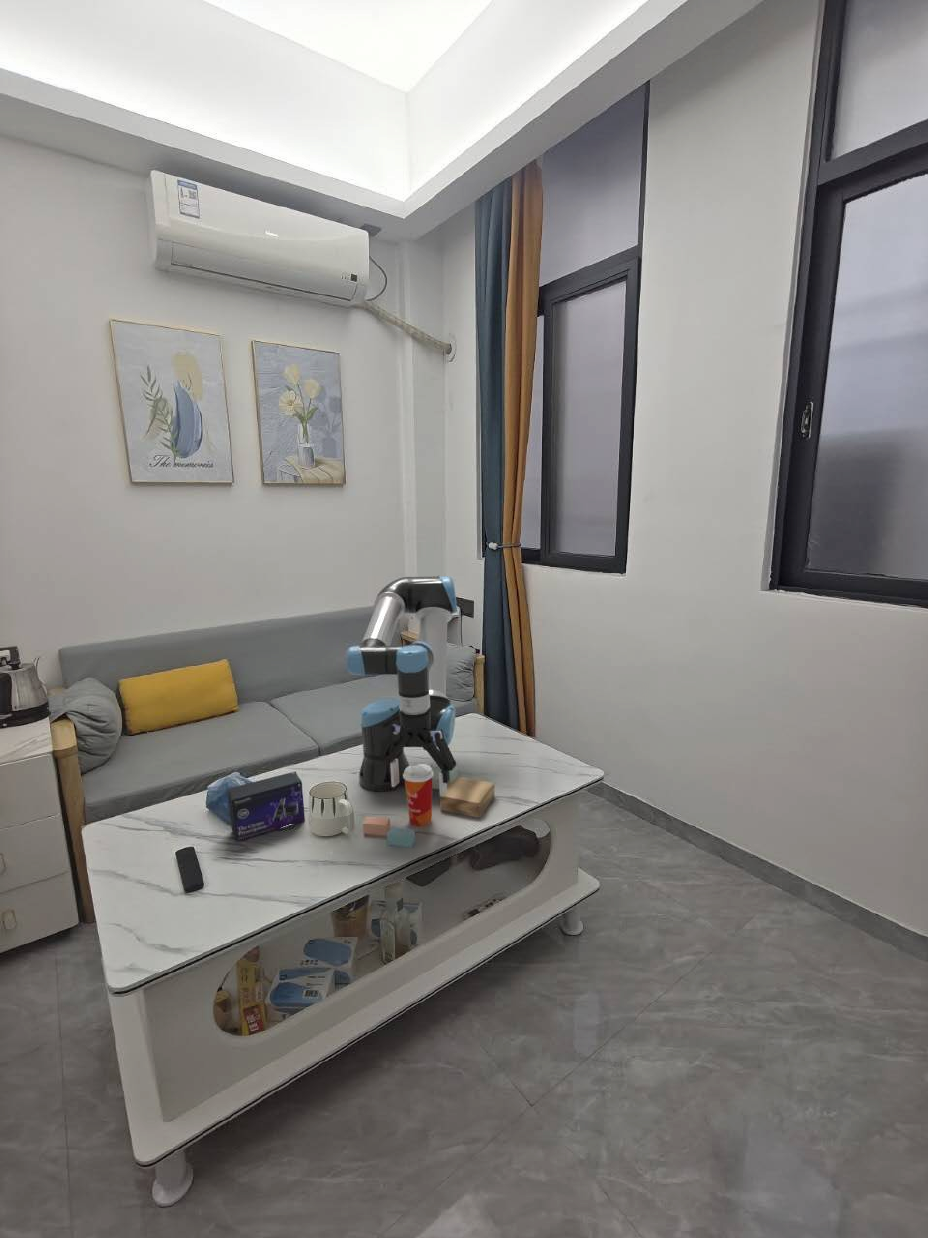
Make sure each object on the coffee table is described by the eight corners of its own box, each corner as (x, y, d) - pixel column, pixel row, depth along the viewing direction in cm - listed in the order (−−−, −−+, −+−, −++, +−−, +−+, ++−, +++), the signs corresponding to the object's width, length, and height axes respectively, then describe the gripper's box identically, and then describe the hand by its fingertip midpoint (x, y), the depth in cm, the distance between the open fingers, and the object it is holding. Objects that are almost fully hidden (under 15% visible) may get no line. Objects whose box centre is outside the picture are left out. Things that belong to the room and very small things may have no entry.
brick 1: (363, 834, 142) (362, 823, 141) (367, 827, 145) (366, 816, 144) (387, 836, 141) (386, 825, 140) (390, 829, 144) (389, 818, 143)
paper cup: (402, 816, 149) (399, 766, 146) (430, 809, 152) (428, 760, 149) (410, 832, 142) (407, 779, 139) (439, 825, 145) (437, 773, 142)
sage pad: (423, 787, 164) (422, 777, 163) (431, 774, 171) (430, 764, 171) (450, 790, 162) (450, 780, 161) (457, 776, 169) (457, 767, 169)
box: (236, 844, 140) (230, 799, 137) (231, 831, 145) (226, 787, 143) (306, 822, 148) (302, 780, 145) (299, 811, 154) (295, 769, 151)
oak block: (440, 809, 152) (440, 795, 151) (457, 789, 162) (457, 776, 161) (479, 817, 148) (478, 803, 147) (494, 796, 157) (494, 783, 157)
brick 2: (387, 845, 138) (386, 833, 137) (392, 838, 140) (391, 826, 140) (411, 848, 136) (410, 836, 135) (415, 841, 139) (414, 829, 138)
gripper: (363, 708, 142) (368, 787, 147) (455, 721, 132) (458, 805, 137) (379, 698, 149) (384, 774, 153) (467, 710, 139) (470, 790, 144)
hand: (419, 789), depth 145 cm, fingers open, 13 cm apart
